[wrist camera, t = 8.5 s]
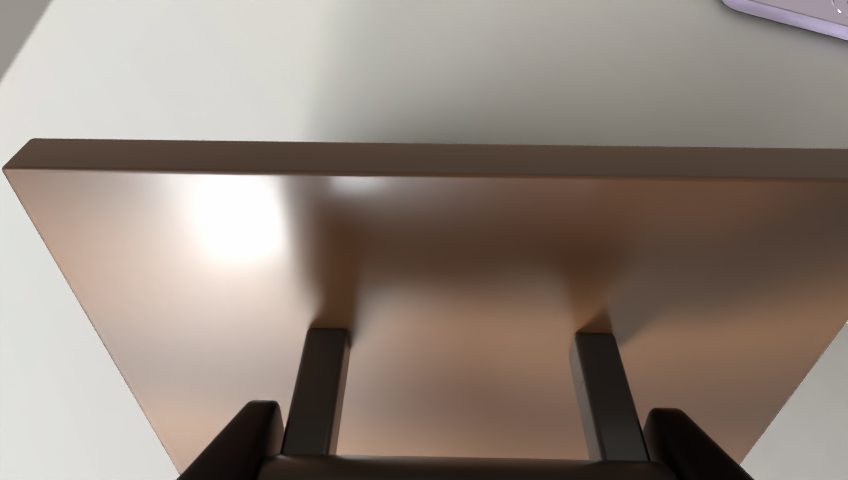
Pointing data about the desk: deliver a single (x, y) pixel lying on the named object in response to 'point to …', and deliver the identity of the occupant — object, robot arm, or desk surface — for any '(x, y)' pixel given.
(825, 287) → the compartment lid
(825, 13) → the mobile phone
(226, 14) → the desk surface
